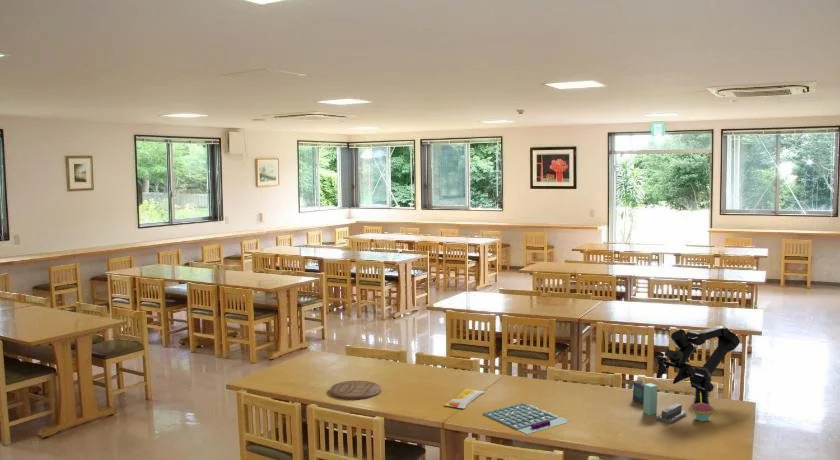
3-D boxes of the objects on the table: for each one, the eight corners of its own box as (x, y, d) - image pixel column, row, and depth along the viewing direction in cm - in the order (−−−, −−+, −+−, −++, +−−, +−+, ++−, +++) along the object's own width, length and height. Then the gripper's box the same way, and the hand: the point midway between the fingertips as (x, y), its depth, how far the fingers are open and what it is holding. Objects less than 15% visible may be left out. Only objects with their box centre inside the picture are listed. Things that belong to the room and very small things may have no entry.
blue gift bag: (649, 404, 328) (650, 381, 327) (644, 405, 327) (645, 382, 326) (635, 398, 336) (636, 376, 335) (630, 399, 335) (631, 377, 334)
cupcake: (687, 417, 311) (688, 390, 310) (703, 414, 314) (704, 388, 313) (701, 423, 303) (702, 396, 302) (717, 421, 306) (718, 394, 305)
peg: (649, 411, 319) (650, 383, 317) (656, 413, 315) (657, 385, 314) (643, 412, 317) (644, 384, 316) (649, 415, 313) (650, 386, 312)
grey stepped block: (673, 411, 318) (673, 402, 317) (685, 415, 313) (686, 405, 313) (656, 420, 307) (657, 410, 307) (669, 423, 303) (670, 413, 303)
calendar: (527, 404, 329) (527, 399, 329) (572, 422, 306) (572, 417, 306) (483, 416, 314) (483, 411, 314) (526, 436, 291) (527, 430, 291)
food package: (466, 386, 349) (485, 389, 345) (466, 390, 349) (485, 393, 345) (443, 402, 325) (463, 406, 320) (443, 407, 325) (463, 411, 320)
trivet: (384, 384, 358) (384, 381, 358) (376, 401, 333) (376, 397, 333) (335, 383, 360) (335, 379, 360) (324, 399, 335) (324, 395, 335)
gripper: (659, 338, 327) (641, 364, 323) (692, 347, 311) (673, 374, 306) (670, 353, 332) (652, 379, 327) (703, 363, 315) (685, 390, 311)
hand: (665, 380), depth 318 cm, fingers open, 9 cm apart
